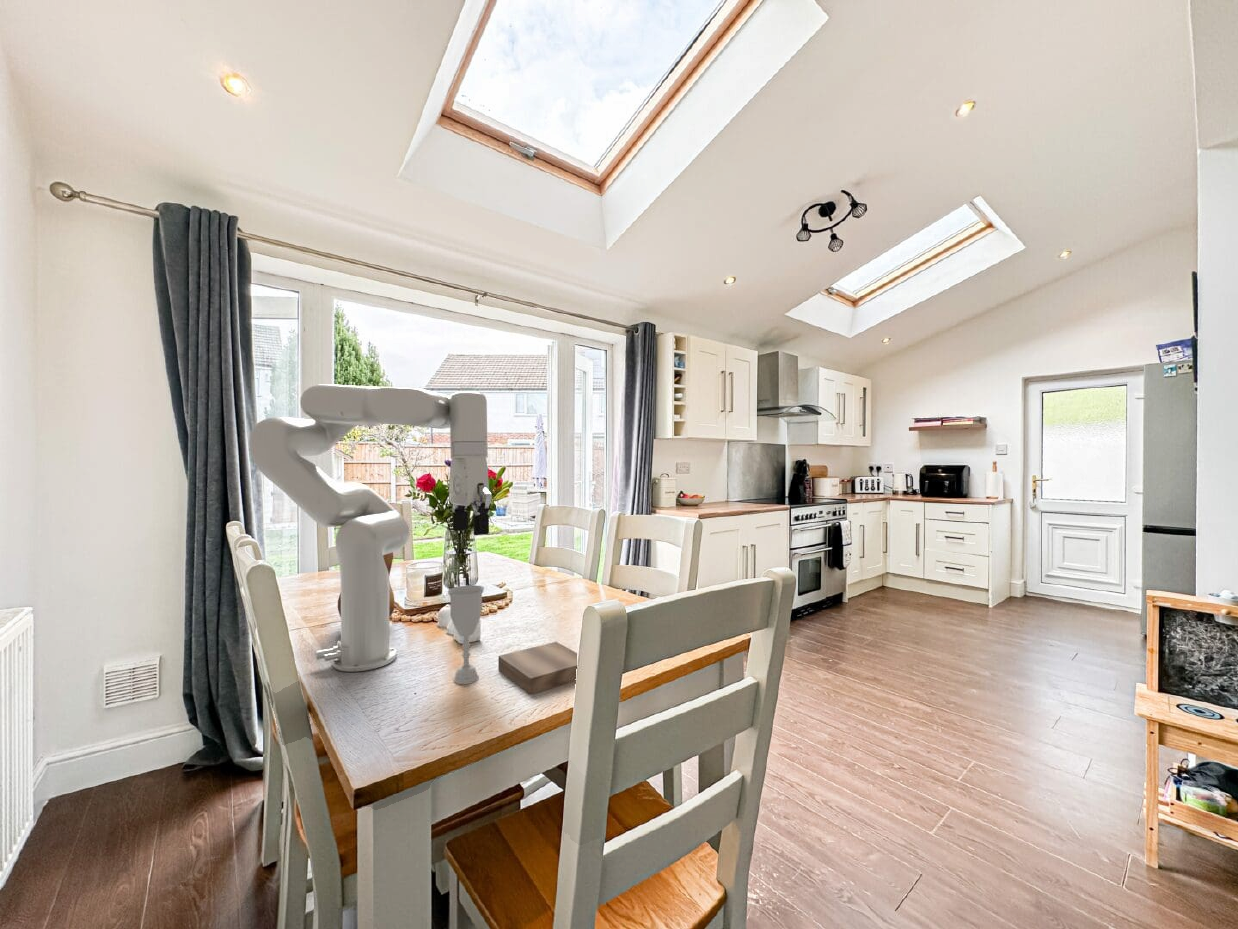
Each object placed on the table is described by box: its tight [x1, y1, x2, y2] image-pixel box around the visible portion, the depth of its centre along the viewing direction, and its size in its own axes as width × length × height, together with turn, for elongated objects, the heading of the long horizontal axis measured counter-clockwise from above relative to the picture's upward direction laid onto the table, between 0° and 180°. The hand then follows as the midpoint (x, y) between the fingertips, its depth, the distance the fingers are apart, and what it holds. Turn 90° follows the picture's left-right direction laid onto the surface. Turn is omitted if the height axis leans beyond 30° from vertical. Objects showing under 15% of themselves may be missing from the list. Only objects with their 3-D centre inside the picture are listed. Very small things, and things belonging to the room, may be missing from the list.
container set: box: [437, 604, 482, 645], centre depth 133 cm, size 20×5×6 cm, turn 36°
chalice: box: [447, 584, 485, 685], centre depth 105 cm, size 7×7×18 cm
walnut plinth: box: [497, 641, 577, 695], centre depth 108 cm, size 14×14×3 cm
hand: (470, 532), depth 110 cm, fingers open, 9 cm apart
